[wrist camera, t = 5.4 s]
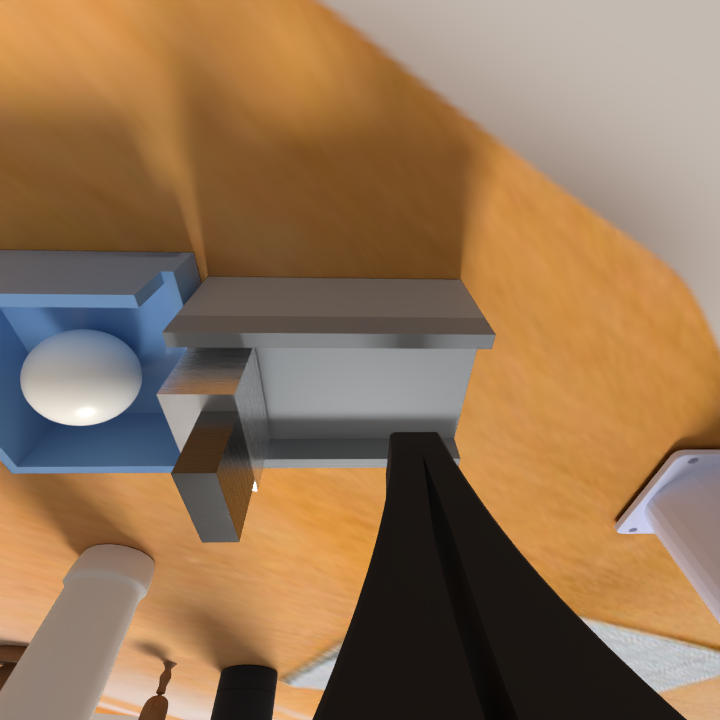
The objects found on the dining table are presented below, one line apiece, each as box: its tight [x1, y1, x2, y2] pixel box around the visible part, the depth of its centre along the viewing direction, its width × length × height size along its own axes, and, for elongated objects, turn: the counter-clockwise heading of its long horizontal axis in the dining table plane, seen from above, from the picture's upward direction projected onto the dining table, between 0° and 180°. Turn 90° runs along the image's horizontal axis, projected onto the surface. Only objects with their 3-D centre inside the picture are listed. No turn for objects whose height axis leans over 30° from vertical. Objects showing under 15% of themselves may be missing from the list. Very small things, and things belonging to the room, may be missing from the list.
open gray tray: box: [162, 277, 496, 468], centre depth 14 cm, size 10×6×4 cm, turn 89°
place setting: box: [0, 646, 177, 720], centre depth 37 cm, size 18×20×6 cm
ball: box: [20, 329, 142, 426], centre depth 13 cm, size 4×4×4 cm
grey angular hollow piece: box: [156, 347, 271, 542], centre depth 11 cm, size 2×4×4 cm, turn 179°
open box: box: [0, 250, 201, 474], centre depth 13 cm, size 8×8×4 cm
